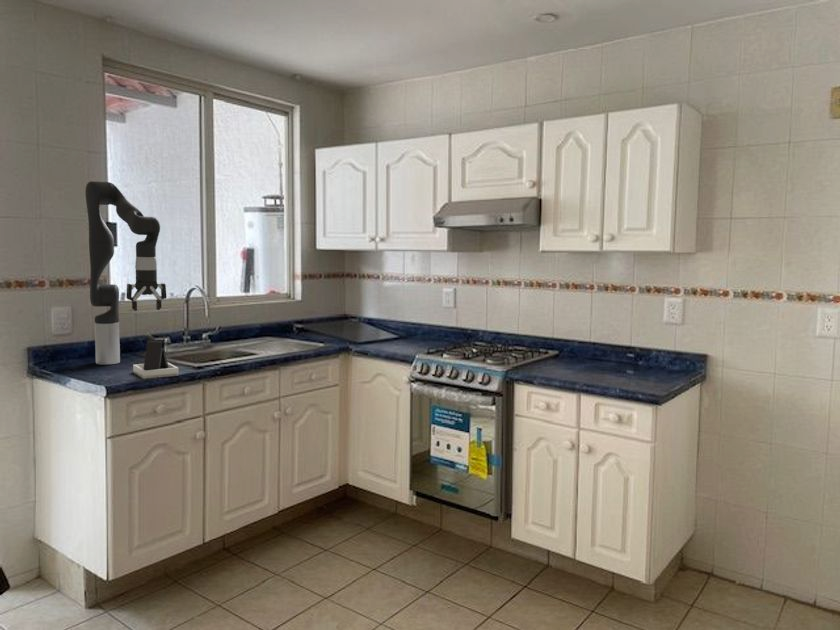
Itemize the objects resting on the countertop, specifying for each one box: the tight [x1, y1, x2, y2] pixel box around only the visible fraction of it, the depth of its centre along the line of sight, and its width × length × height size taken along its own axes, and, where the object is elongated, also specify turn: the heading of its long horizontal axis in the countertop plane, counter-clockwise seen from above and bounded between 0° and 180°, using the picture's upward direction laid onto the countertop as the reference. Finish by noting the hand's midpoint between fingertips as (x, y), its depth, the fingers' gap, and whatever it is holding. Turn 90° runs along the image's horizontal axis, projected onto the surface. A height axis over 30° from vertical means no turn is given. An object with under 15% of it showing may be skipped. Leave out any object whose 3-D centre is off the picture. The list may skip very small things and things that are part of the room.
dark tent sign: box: [143, 340, 169, 370], centre depth 251 cm, size 9×6×12 cm, turn 175°
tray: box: [132, 361, 180, 380], centre depth 251 cm, size 15×13×3 cm
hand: (146, 310), depth 249 cm, fingers open, 8 cm apart
